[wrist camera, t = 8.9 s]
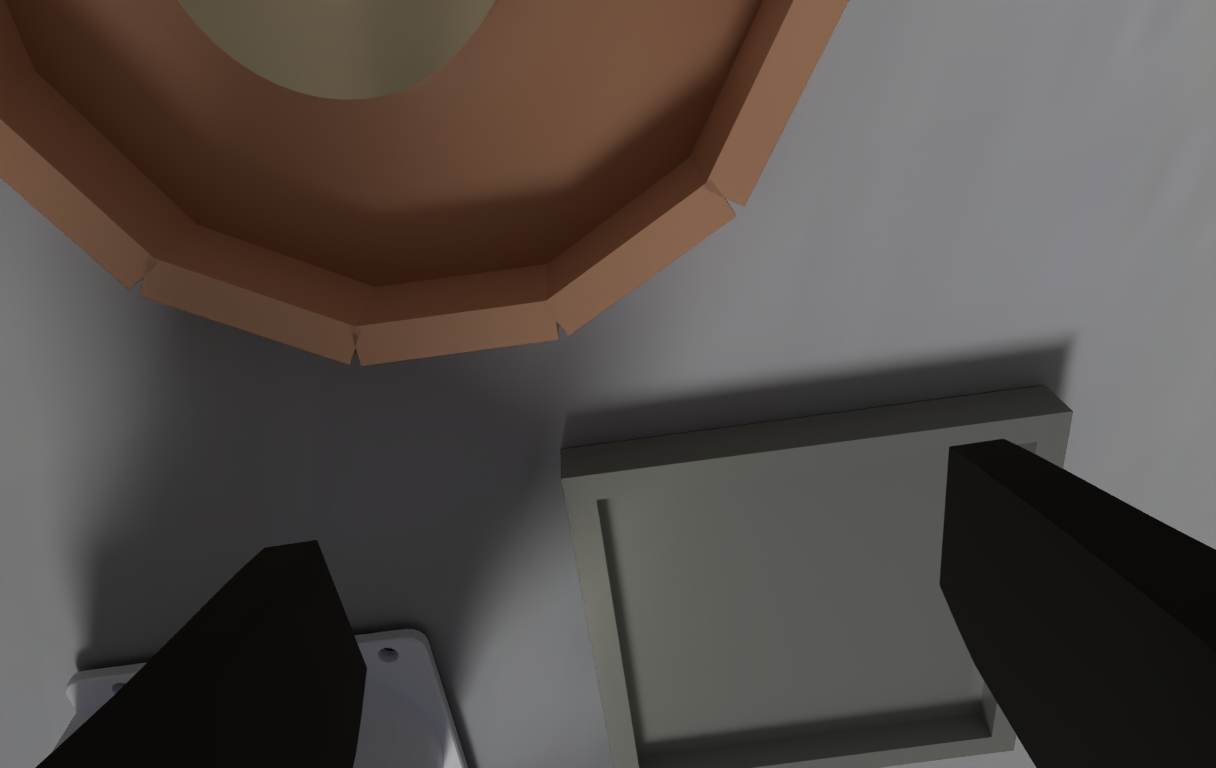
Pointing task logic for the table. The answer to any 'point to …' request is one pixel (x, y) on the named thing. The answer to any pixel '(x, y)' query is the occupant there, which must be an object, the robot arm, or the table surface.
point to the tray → (789, 586)
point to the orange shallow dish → (402, 164)
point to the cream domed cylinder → (340, 40)
